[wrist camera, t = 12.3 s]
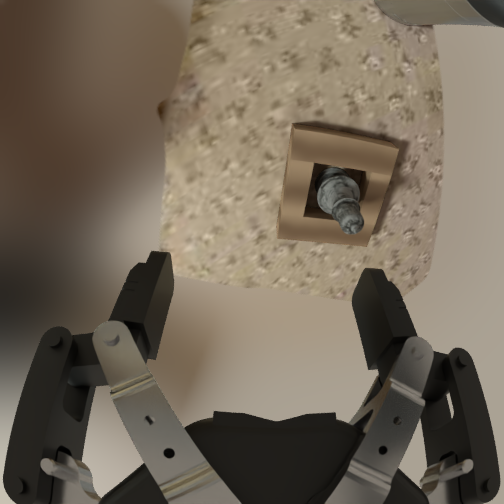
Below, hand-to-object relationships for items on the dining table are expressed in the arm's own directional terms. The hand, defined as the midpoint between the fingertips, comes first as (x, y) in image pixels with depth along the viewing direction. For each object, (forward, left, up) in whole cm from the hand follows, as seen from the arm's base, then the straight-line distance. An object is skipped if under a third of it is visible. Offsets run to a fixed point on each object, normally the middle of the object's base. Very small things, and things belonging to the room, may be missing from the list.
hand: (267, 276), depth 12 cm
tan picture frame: (+8, +11, -28) cm, 31 cm away
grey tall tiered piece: (+8, +11, -28) cm, 31 cm away
